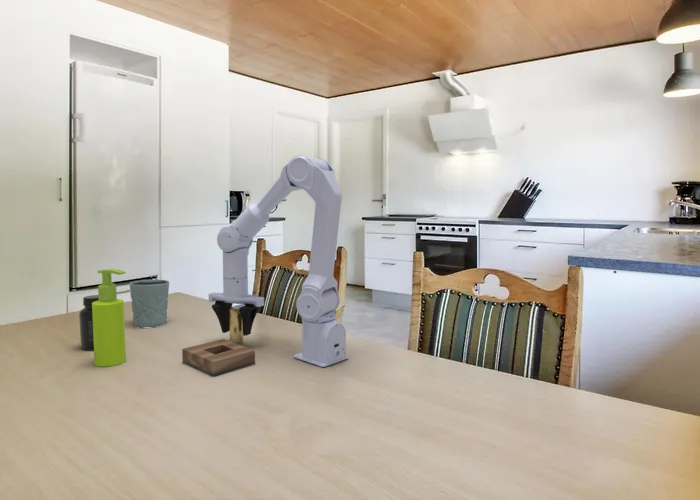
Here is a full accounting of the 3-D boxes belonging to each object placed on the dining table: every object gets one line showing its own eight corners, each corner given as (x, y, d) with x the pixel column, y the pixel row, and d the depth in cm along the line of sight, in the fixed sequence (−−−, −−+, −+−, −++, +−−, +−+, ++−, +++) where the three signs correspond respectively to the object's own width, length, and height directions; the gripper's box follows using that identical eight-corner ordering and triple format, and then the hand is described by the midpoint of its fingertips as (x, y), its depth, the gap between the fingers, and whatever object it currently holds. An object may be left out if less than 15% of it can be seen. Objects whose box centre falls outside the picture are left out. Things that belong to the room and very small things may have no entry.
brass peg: (246, 345, 110) (245, 308, 110) (234, 347, 108) (234, 310, 107) (238, 342, 113) (237, 306, 112) (227, 345, 110) (226, 308, 109)
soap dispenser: (117, 368, 94) (113, 271, 92) (88, 365, 95) (83, 270, 93) (136, 359, 100) (132, 268, 98) (108, 356, 101) (104, 267, 99)
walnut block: (255, 363, 97) (254, 350, 97) (213, 376, 90) (213, 361, 90) (223, 351, 105) (223, 338, 105) (182, 362, 98) (182, 348, 97)
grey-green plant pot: (122, 326, 126) (121, 283, 124) (148, 318, 135) (147, 278, 134) (153, 330, 123) (152, 285, 122) (177, 321, 132) (176, 280, 131)
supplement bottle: (119, 342, 111) (117, 294, 110) (101, 351, 105) (99, 299, 103) (93, 341, 112) (91, 293, 111) (73, 350, 105) (71, 299, 104)
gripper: (270, 276, 110) (271, 332, 111) (220, 273, 115) (221, 326, 116) (254, 281, 103) (255, 340, 104) (202, 277, 108) (203, 333, 110)
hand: (236, 333), depth 110 cm, fingers open, 5 cm apart
